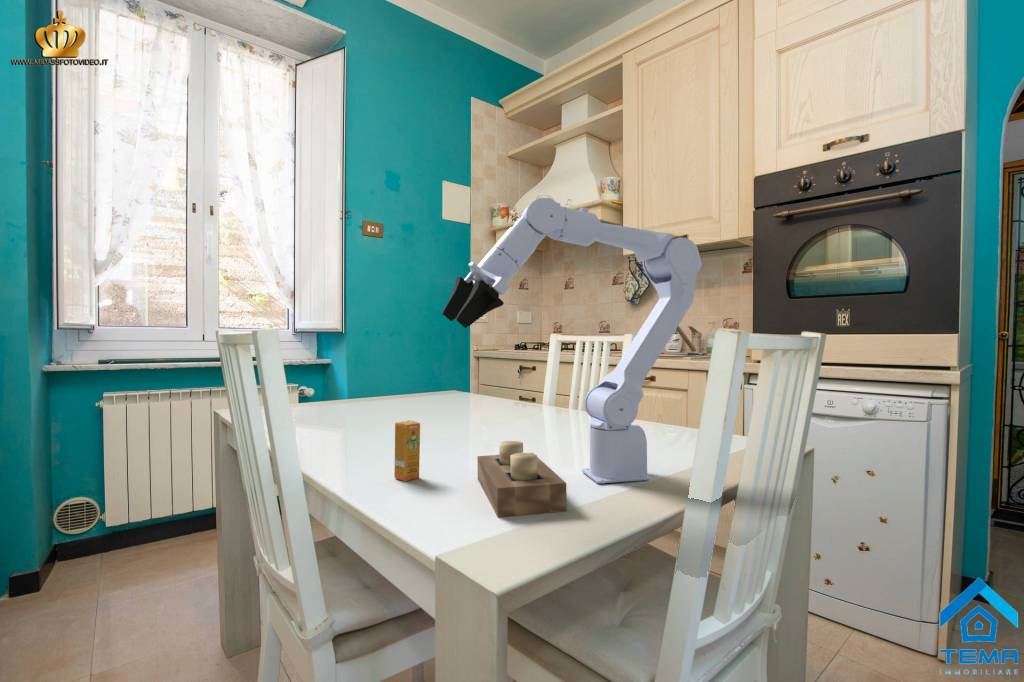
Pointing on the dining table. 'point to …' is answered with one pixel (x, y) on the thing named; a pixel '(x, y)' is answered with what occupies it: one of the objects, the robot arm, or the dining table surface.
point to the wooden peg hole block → (521, 489)
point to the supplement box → (407, 450)
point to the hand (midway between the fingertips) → (453, 320)
